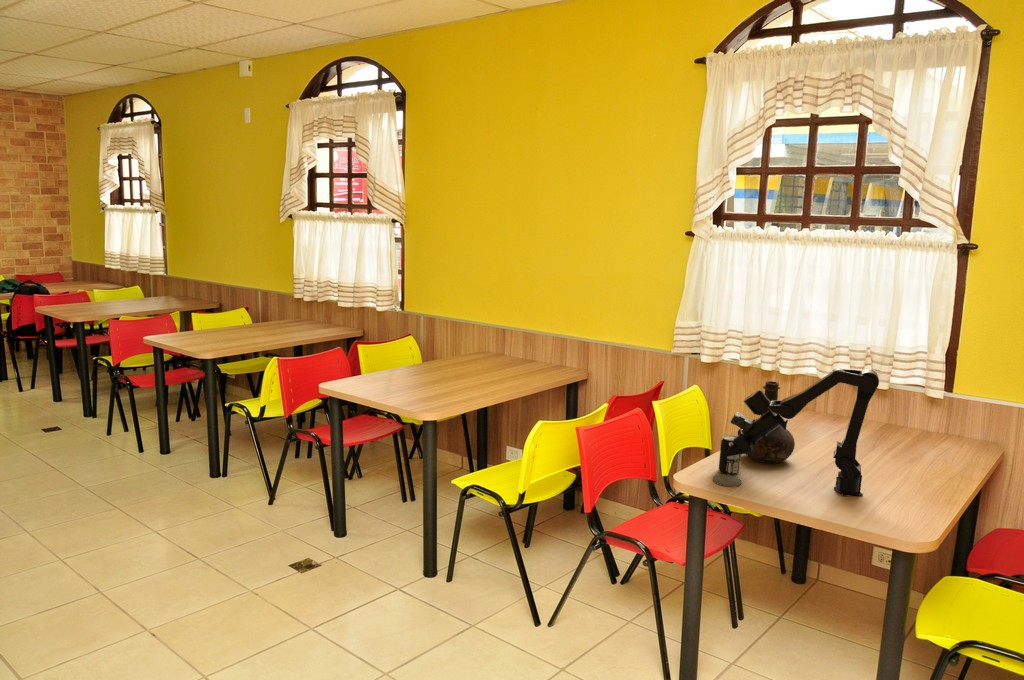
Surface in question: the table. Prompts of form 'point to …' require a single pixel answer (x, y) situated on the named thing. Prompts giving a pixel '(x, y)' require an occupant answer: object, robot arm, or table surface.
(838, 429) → the table surface
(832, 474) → the table surface
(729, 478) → the coaster
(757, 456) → the brown vase
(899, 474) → the table surface
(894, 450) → the table surface
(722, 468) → the beverage can
